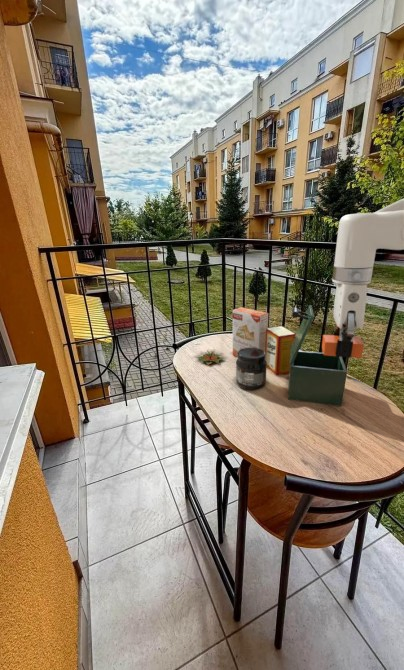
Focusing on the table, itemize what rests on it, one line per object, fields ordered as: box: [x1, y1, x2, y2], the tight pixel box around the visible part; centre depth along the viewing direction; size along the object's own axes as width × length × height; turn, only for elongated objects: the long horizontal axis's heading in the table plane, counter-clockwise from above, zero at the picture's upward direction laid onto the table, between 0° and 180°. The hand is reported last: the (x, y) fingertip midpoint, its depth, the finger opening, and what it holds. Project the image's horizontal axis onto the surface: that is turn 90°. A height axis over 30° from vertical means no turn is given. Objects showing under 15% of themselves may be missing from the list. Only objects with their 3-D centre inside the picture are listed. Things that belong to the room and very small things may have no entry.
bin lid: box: [289, 304, 315, 365], centre depth 87 cm, size 16×13×5 cm
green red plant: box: [196, 349, 225, 366], centre depth 118 cm, size 12×12×5 cm
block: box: [321, 334, 365, 359], centre depth 67 cm, size 8×5×3 cm, turn 74°
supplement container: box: [235, 348, 267, 391], centre depth 97 cm, size 10×10×12 cm
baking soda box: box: [265, 325, 296, 377], centre depth 106 cm, size 10×6×16 cm
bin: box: [287, 350, 348, 407], centre depth 90 cm, size 16×13×12 cm
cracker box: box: [232, 306, 269, 357], centre depth 115 cm, size 14×6×21 cm, turn 42°
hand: (341, 350), depth 67 cm, fingers closed on block, 5 cm apart
